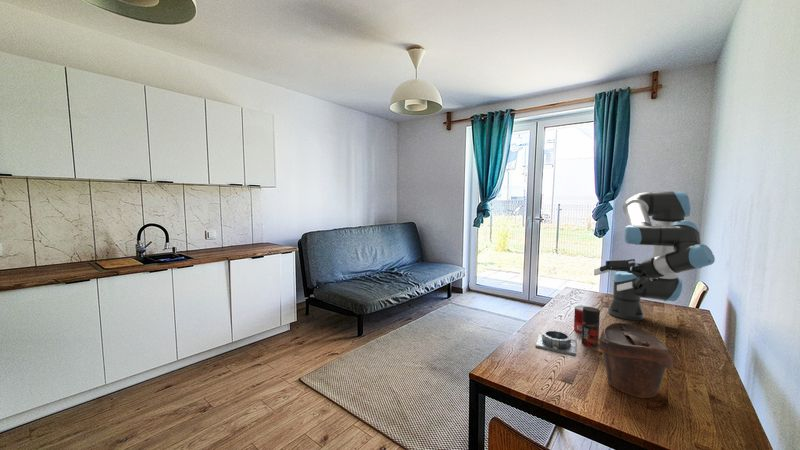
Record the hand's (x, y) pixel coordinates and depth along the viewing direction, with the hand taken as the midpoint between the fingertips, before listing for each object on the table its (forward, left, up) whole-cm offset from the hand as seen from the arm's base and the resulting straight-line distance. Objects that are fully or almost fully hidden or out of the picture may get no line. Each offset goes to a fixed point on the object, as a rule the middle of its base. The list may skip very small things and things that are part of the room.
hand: (606, 280), depth 135 cm
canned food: (-1, -7, -25) cm, 26 cm away
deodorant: (+13, -5, -25) cm, 29 cm away
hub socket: (+20, -17, -25) cm, 36 cm away
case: (+41, +6, -25) cm, 49 cm away
